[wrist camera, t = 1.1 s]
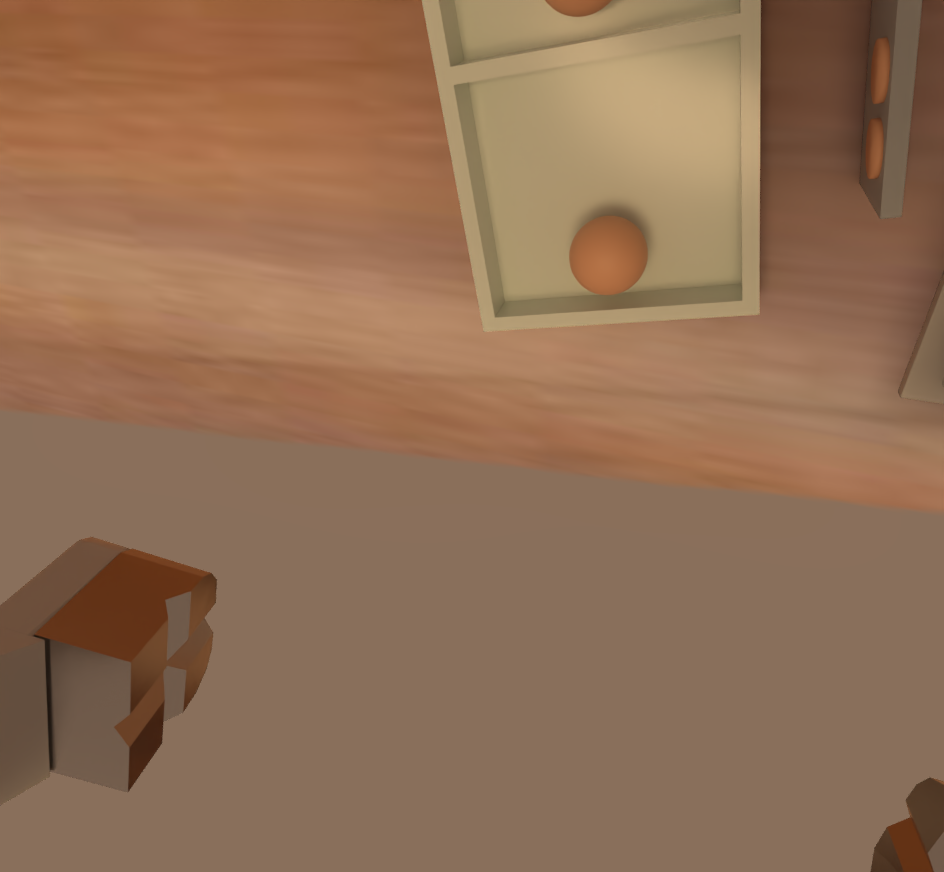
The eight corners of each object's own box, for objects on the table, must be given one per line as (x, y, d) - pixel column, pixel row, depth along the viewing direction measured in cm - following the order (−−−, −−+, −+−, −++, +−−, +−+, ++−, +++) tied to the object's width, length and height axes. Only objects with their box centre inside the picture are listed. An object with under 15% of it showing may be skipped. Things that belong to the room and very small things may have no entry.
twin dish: (759, -390, 28) (762, -423, 25) (757, 292, 41) (759, 314, 38) (395, -264, 33) (369, -282, 30) (496, 311, 45) (483, 331, 43)
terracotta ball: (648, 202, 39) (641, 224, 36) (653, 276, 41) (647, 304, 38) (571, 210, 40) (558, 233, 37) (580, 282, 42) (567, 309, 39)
